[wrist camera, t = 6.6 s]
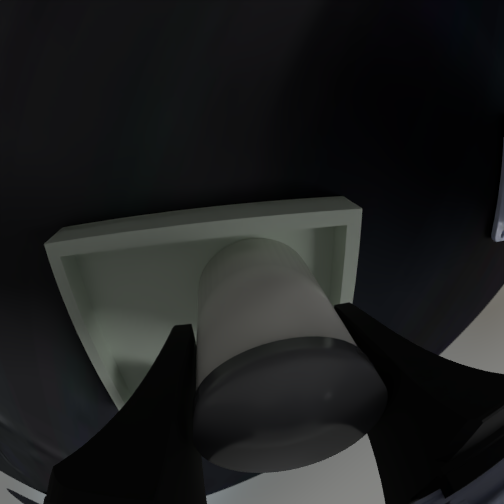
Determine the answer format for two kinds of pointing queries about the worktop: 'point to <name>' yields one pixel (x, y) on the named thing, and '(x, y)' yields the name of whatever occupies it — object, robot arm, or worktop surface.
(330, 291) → the tray
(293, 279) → the cylinder
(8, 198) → the worktop surface
